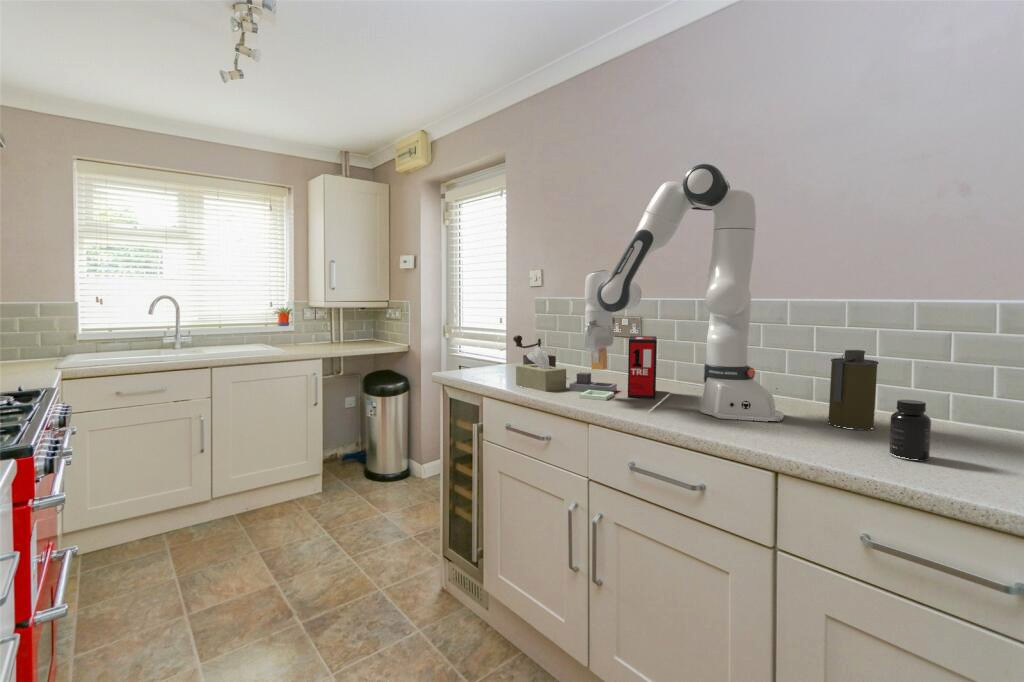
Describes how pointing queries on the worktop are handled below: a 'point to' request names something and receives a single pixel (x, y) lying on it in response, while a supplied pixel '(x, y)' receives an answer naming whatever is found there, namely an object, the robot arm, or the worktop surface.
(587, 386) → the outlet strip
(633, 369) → the cleaning product box
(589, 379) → the black plug
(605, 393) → the tray
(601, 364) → the orange plug
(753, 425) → the worktop surface
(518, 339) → the pepper mill
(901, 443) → the supplement bottle
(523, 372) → the tissue box
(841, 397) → the canister
